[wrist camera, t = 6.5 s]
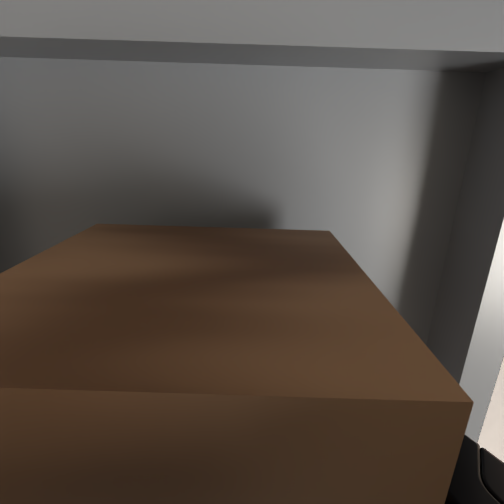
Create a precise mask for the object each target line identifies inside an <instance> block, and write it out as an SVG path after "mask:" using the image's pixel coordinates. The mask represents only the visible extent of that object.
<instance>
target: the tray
mask: <svg viewBox="0 0 504 504" xmlns="http://www.w3.org/2000/svg"><path fill="white" fill-rule="evenodd" d="M95 224H126V225H159V226H192V227H225V228H257V229H290V230H323V231H330V232H331V233H332V234H333V235H334V236H335V238H336V239H337V240H338V241H339V242H340V244H341V245H342V246H343V247H344V248H345V250H346V251H347V252H348V253H349V254H350V255H351V257H352V258H353V259H354V260H355V261H356V263H357V264H358V265H359V266H360V267H361V269H362V270H363V271H364V272H365V273H366V275H367V276H368V277H369V278H370V279H371V280H372V282H373V283H374V284H375V285H376V286H377V288H378V289H379V290H380V291H381V292H382V294H383V295H384V296H385V297H386V298H387V299H388V301H389V302H390V303H391V304H392V305H393V307H394V308H395V309H396V310H397V311H398V313H399V314H400V315H401V316H402V317H403V319H404V320H405V321H406V322H407V323H408V324H409V326H410V327H411V328H412V329H413V330H414V332H415V333H416V334H417V335H418V336H419V338H420V339H421V340H422V341H423V342H424V344H425V345H426V346H427V347H428V348H429V349H430V351H431V352H432V353H433V354H434V355H435V357H436V358H437V359H438V360H439V361H440V363H441V364H442V365H443V366H444V367H445V368H446V370H447V371H448V372H449V373H450V374H451V376H452V377H453V378H454V379H455V380H456V382H457V383H458V384H459V385H460V386H461V388H462V389H463V390H464V391H465V392H466V393H467V395H468V396H469V397H470V398H471V399H472V401H473V402H474V404H473V407H472V411H471V414H470V417H469V421H468V424H467V428H466V431H465V435H467V436H468V437H469V438H471V439H472V440H474V441H475V442H476V443H477V442H478V439H479V436H480V432H481V429H482V426H483V422H484V419H485V416H486V413H487V409H488V406H489V403H490V400H491V396H492V393H493V390H494V387H495V383H496V380H497V377H498V374H499V370H500V367H501V364H502V361H503V357H504V0H0V273H2V272H4V271H6V270H8V269H10V268H12V267H14V266H16V265H18V264H20V263H22V262H23V261H25V260H27V259H29V258H31V257H33V256H35V255H37V254H39V253H41V252H43V251H45V250H47V249H49V248H51V247H53V246H55V245H57V244H58V243H60V242H62V241H64V240H66V239H68V238H70V237H72V236H74V235H76V234H78V233H80V232H82V231H84V230H86V229H88V228H90V227H92V226H93V225H95Z"/></svg>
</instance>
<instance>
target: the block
mask: <svg viewBox="0 0 504 504" xmlns="http://www.w3.org/2000/svg"><path fill="white" fill-rule="evenodd" d="M473 404H474V402H473V401H472V399H471V398H470V397H469V396H468V395H467V393H466V392H465V391H464V390H463V389H462V388H461V386H460V385H459V384H458V383H457V382H456V380H455V379H454V378H453V377H452V376H451V374H450V373H449V372H448V371H447V370H446V368H445V367H444V366H443V365H442V364H441V363H440V361H439V360H438V359H437V358H436V357H435V355H434V354H433V353H432V352H431V351H430V349H429V348H428V347H427V346H426V345H425V344H424V342H423V341H422V340H421V339H420V338H419V336H418V335H417V334H416V333H415V332H414V330H413V329H412V328H411V327H410V326H409V324H408V323H407V322H406V321H405V320H404V319H403V317H402V316H401V315H400V314H399V313H398V311H397V310H396V309H395V308H394V307H393V305H392V304H391V303H390V302H389V301H388V299H387V298H386V297H385V296H384V295H383V294H382V292H381V291H380V290H379V289H378V288H377V286H376V285H375V284H374V283H373V282H372V280H371V279H370V278H369V277H368V276H367V275H366V273H365V272H364V271H363V270H362V269H361V267H360V266H359V265H358V264H357V263H356V261H355V260H354V259H353V258H352V257H351V255H350V254H349V253H348V252H347V251H346V250H345V248H344V247H343V246H342V245H341V244H340V242H339V241H338V240H337V239H336V238H335V236H334V235H333V234H332V233H331V232H330V231H323V230H290V229H257V228H225V227H192V226H159V225H126V224H95V225H93V226H92V227H90V228H88V229H86V230H84V231H82V232H80V233H78V234H76V235H74V236H72V237H70V238H68V239H66V240H64V241H62V242H60V243H58V244H57V245H55V246H53V247H51V248H49V249H47V250H45V251H43V252H41V253H39V254H37V255H35V256H33V257H31V258H29V259H27V260H25V261H23V262H22V263H20V264H18V265H16V266H14V267H12V268H10V269H8V270H6V271H4V272H2V273H0V504H445V500H446V497H447V493H448V490H449V486H450V483H451V479H452V476H453V473H454V469H455V466H456V462H457V459H458V455H459V452H460V448H461V445H462V442H463V438H464V435H465V431H466V428H467V424H468V421H469V417H470V414H471V411H472V407H473Z"/></svg>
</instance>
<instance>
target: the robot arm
mask: <svg viewBox="0 0 504 504" xmlns="http://www.w3.org/2000/svg"><path fill="white" fill-rule="evenodd" d="M445 504H504V463H503V462H502V461H501V460H499V459H498V458H497V457H495V456H494V455H493V454H491V453H490V452H489V451H487V450H486V449H484V448H480V446H479V444H478V443H476V442H475V441H474V440H472V439H471V438H469V437H468V436H467V435H464V438H463V442H462V445H461V448H460V452H459V455H458V459H457V462H456V466H455V469H454V473H453V476H452V479H451V483H450V486H449V490H448V493H447V497H446V500H445Z"/></svg>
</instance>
